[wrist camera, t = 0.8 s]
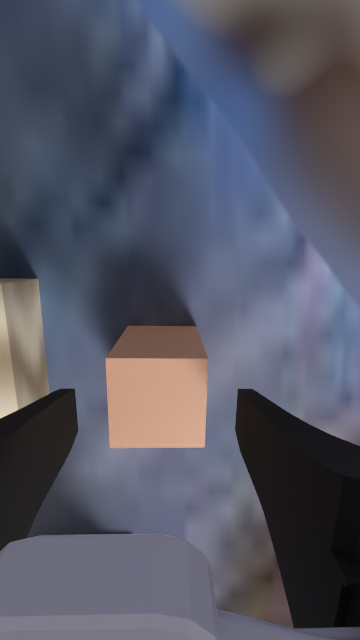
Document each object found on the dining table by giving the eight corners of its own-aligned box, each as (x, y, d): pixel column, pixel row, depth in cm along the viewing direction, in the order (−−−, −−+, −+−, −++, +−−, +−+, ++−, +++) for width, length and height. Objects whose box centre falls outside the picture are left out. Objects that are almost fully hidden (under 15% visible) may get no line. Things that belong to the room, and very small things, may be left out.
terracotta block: (194, 388, 19) (204, 447, 13) (129, 388, 18) (109, 447, 13) (196, 326, 18) (208, 358, 12) (128, 325, 17) (105, 358, 12)
